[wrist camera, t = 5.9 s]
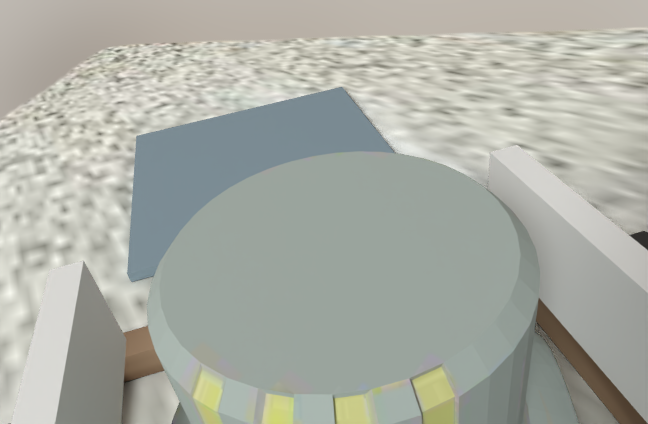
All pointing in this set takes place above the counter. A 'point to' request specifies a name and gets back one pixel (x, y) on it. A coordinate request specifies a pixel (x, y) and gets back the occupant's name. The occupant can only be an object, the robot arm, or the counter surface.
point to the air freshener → (355, 301)
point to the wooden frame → (146, 361)
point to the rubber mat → (231, 161)
